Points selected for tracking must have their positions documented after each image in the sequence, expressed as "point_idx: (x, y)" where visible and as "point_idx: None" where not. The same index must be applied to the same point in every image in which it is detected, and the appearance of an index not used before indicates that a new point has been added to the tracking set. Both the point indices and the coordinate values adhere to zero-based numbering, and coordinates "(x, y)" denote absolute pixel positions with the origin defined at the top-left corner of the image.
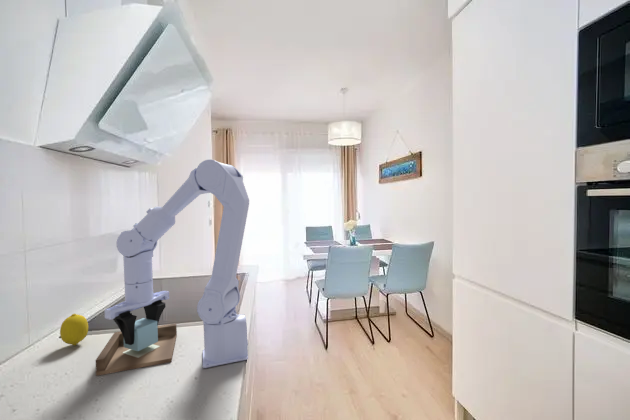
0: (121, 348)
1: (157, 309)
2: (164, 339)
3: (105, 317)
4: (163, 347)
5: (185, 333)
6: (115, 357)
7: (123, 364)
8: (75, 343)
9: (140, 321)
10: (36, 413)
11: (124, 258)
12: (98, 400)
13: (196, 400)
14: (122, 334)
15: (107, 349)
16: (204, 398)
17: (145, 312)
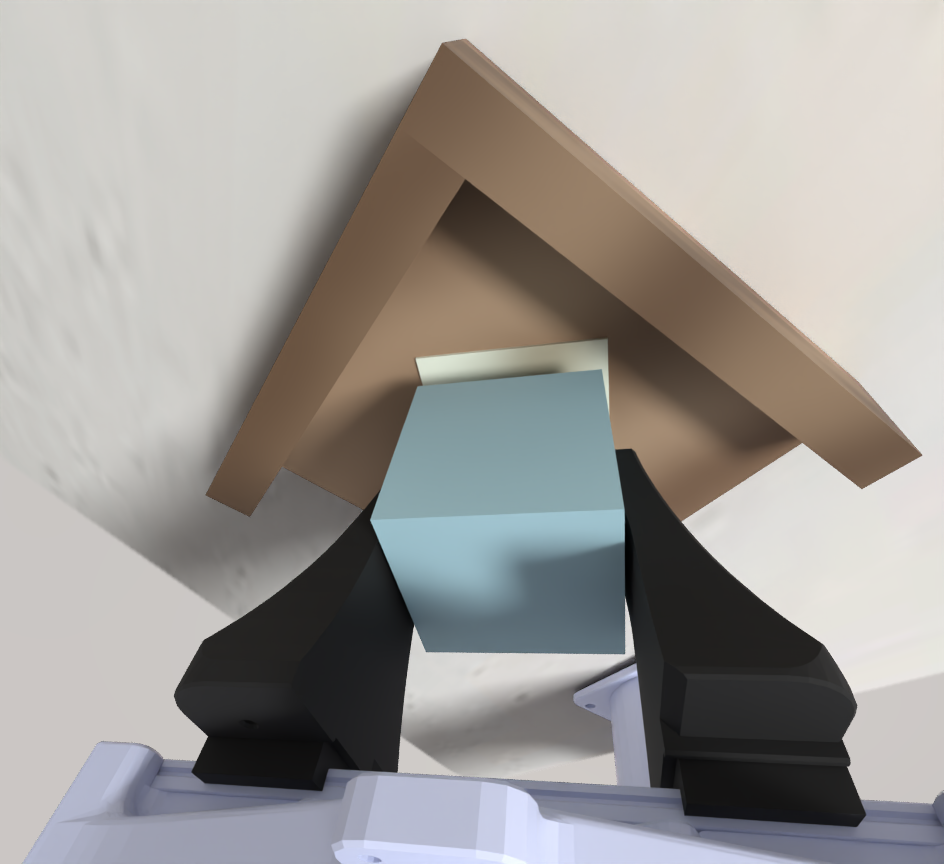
0: (442, 273)
1: (650, 782)
2: (712, 423)
3: (96, 759)
4: None
5: (916, 407)
6: (362, 377)
7: (369, 487)
8: None
9: (537, 562)
10: (53, 491)
11: None
12: (245, 578)
13: (452, 736)
14: (362, 514)
15: (283, 426)
16: (470, 743)
17: (643, 596)
